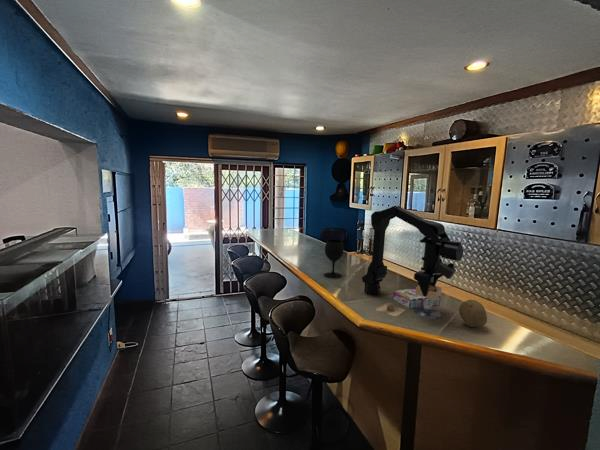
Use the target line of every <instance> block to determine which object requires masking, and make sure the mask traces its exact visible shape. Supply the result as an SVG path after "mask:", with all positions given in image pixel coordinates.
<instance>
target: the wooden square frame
mask: <svg viewBox="0 0 600 450" xmlns="http://www.w3.org/2000/svg"><path fill="white" fill-rule="evenodd" d="M415 288H416V295H419V296H423V294H422V291H421V289H420V286H419V285H417V286H416V287H415ZM442 289H443V288H442V286H437V285H435V286H434V285H430V286H429V290H428V293H427V296H426V297H427V298H431V299H434V300H435V299H437V298H438V297H439V296H441V295H442ZM423 297H425V296H423Z"/></svg>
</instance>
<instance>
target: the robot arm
mask: <svg viewBox="0 0 600 450" xmlns="http://www.w3.org/2000/svg"><path fill="white" fill-rule="evenodd" d="M395 218H398V219H399V220H402V221H403V222H405V223H407V224H409V225H410V226H413V228H416V229H417V230H418V231H419V233H420V234H422V235H423V236H424V237H423V238H421V239H420V240H419V243H423V244H424V249H423V250H424V252H423V256H422V257H421V261H423V263H422V267H421V268H420V270H418V271H416V272H415V273H414V274H413V280H415V281H416V282H417V284H418V286H420V289H421V291H422V294H423V296H425V297H426V296H427V293H428V290H429V286H430V285H434V286H437V285H436V284H437V282H438V280H439V279H440V278H441V277H443V276H444V277H445V278H446V279H448V280H449V279H451V278H453V276H454V274H455V273H456V269H457V268H456V267H455V264H454V263H452V262H449V263H448V264H447V263H444V262H443V259H446V260H447V259H448V260H452V261H457V262H460V261H461V260H462V258H463V255H464V247H463V245H462V242H461V241H453V240H451V239H450V237H449V235H448V234H447V233H446V229H445V226H444V224H442V223H440V222H438V221H433V220H429V219H425V218H423V217H420V216H418V215H417V214H415V213H412V212H410V210H409V211H408V210H407V209H405V208H403V207H401V206H399V205H393V206H391V207H389V208H386V209H383V210H380V211H379V210H377V211H373V212H372V213H371V216H370V223H371V227H372V229H373V238H372V239H373V241H372V242H373V243H372V252H371V253H372V255H371V262H370V263H369V265H368V267H367V272H366V273H365V274H364V275H363V276H362V277H361V281H362V283H364V287H363V288H364V289H363V291H364V293H365V294H367V295H370V296H371V295H372V296H379V295H381V282H383V280H384V278H386V275H387V274H388V272H387V271H388V265H385V264H384V254H385V253H384V251H385V241H386V240H385V239H386V231H387V229H388V227H389V225H390V222H391V220H392V219H395ZM442 258H443V259H442Z"/></svg>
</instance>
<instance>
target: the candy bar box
mask: <svg viewBox="0 0 600 450" xmlns="http://www.w3.org/2000/svg"><path fill="white" fill-rule="evenodd" d="M392 297H393V298H392V299H393V300H394V301H396V302H397V303H399V304H400V305H403V306H404V307H406V308H408V309H409V310H410V309H414V308H416V307H423V302H424V301H425V299H430V300H431V302H432V306H440V304H441V297H442V296H441V295H440V296H439V297H438V298H437V299H435V300H434V299H431V298H427V297H423V296H419V295H416V287H415V288H409V289H399V290H398V289H397V290H393V296H392Z"/></svg>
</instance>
